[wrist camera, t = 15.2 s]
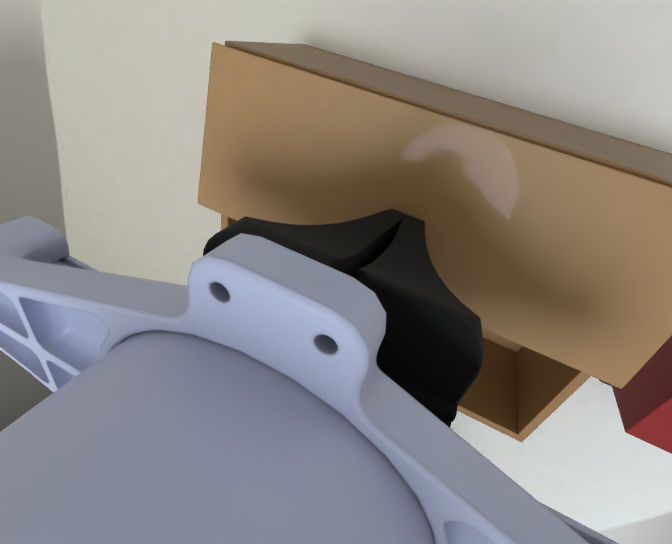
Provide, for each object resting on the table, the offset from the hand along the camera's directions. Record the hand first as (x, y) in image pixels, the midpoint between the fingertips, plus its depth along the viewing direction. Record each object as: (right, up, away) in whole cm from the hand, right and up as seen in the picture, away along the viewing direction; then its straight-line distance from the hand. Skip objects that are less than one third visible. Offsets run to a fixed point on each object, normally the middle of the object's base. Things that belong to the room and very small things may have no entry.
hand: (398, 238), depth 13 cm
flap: (0, +1, 0) cm, 1 cm away
